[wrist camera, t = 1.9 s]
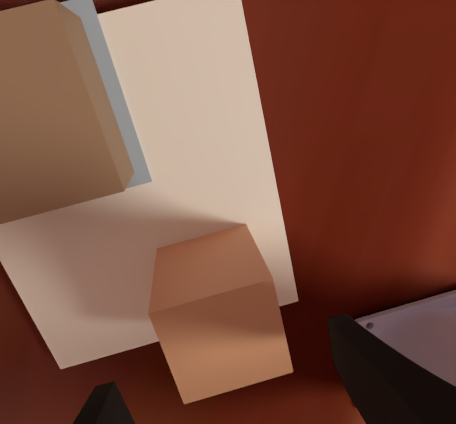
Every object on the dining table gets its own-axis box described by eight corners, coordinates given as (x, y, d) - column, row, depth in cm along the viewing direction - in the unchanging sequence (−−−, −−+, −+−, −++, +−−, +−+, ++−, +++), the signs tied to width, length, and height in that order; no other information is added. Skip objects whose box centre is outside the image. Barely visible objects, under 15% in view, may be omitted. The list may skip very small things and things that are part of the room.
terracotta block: (246, 224, 16) (273, 278, 12) (263, 298, 18) (293, 372, 13) (157, 248, 16) (148, 313, 11) (182, 321, 18) (184, 404, 13)
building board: (230, -30, 14) (249, -75, 10) (292, 290, 19) (320, 339, 16) (-99, 49, 13) (-210, 33, 9) (66, 355, 19) (38, 422, 15)
